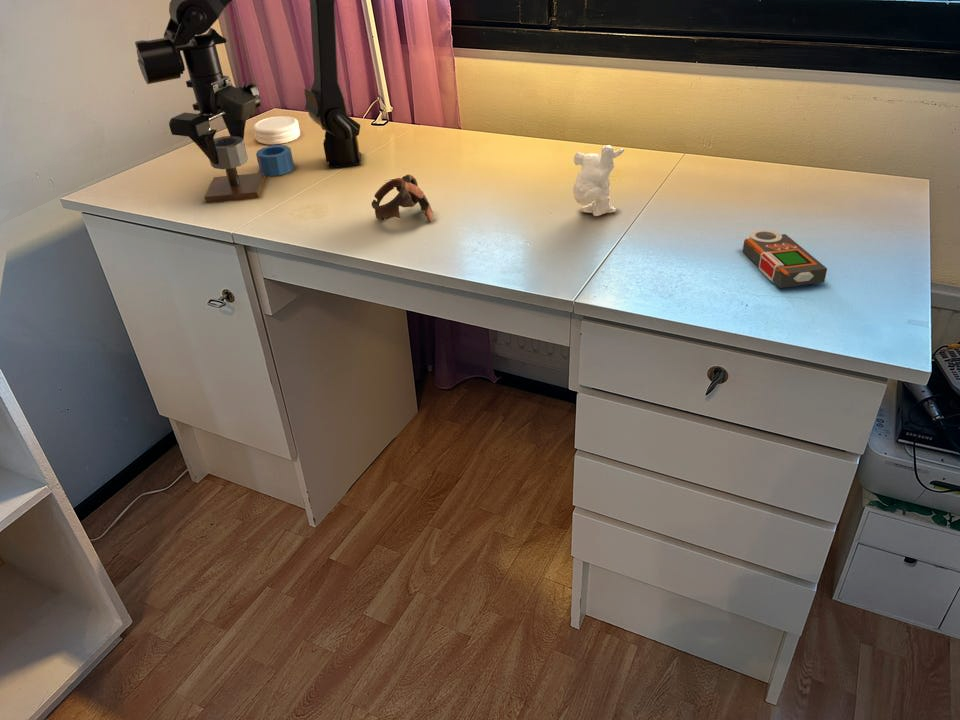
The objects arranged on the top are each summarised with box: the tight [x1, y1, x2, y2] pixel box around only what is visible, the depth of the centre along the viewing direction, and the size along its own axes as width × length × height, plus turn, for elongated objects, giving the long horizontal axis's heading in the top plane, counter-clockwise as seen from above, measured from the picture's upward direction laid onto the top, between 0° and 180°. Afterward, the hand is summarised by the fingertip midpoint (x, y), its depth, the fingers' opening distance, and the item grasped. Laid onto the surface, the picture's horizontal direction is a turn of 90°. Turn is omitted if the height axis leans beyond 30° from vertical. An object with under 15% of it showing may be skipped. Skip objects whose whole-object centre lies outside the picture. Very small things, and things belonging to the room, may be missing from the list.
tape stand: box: [203, 167, 266, 204], centre depth 141 cm, size 10×10×8 cm
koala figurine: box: [572, 144, 625, 217], centre depth 124 cm, size 8×7×12 cm
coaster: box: [253, 115, 301, 146], centre depth 166 cm, size 10×10×4 cm
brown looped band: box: [371, 174, 434, 223], centre depth 128 cm, size 12×10×8 cm
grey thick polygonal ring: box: [209, 135, 249, 170], centre depth 139 cm, size 7×7×4 cm
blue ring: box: [255, 144, 295, 177], centre depth 150 cm, size 7×7×4 cm
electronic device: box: [742, 229, 828, 289], centre depth 109 cm, size 7×3×15 cm
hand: (228, 157), depth 140 cm, fingers closed on grey thick polygonal ring, 7 cm apart
